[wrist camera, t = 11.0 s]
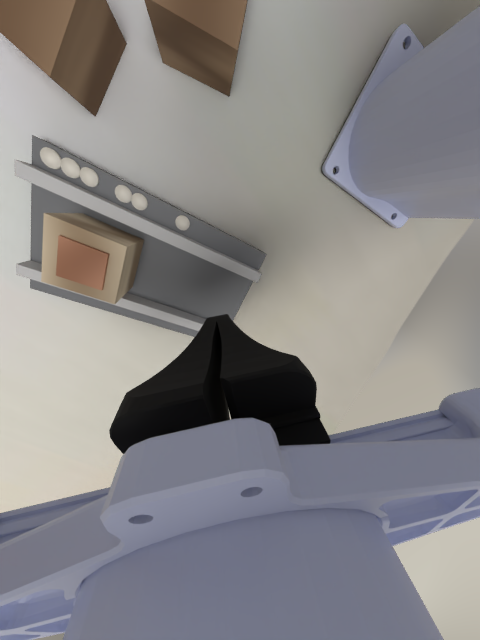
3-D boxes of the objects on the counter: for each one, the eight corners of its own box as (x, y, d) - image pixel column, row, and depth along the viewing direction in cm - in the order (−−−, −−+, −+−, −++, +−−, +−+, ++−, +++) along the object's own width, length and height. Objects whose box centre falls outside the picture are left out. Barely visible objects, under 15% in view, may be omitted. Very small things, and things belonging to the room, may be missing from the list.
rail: (263, 252, 17) (270, 257, 15) (220, 339, 21) (221, 351, 19) (45, 140, 12) (14, 126, 10) (40, 283, 16) (16, 293, 14)
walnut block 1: (127, 45, 11) (88, -37, 7) (96, 117, 12) (49, 76, 8) (42, -50, 9) (-61, -217, 6) (16, 44, 10) (-84, -44, 7)
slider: (144, 239, 14) (125, 247, 11) (132, 287, 16) (113, 305, 13) (82, 213, 13) (40, 212, 10) (76, 267, 14) (38, 282, 11)
